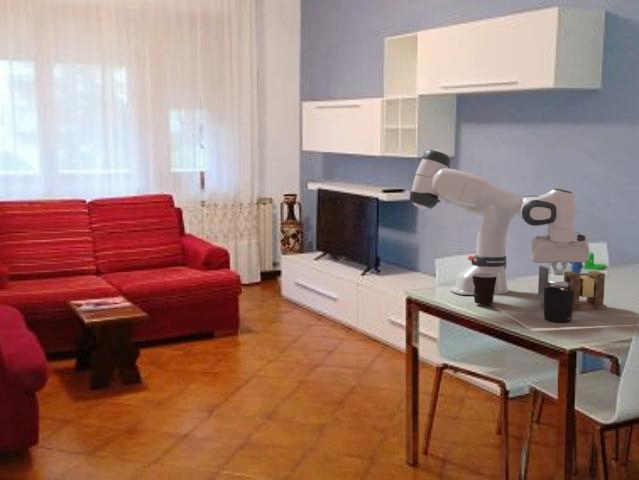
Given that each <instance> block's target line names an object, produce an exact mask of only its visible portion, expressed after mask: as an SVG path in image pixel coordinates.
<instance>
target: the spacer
mask: <svg viewBox="0 0 639 480" xmlns="http://www.w3.org/2000/svg"><path fill="white" fill-rule="evenodd" d="M580 282H581V288H580V296H579V297H580V298H587V297H593V293H594V279H593V278H591V277H588V275H581V278H580Z"/></svg>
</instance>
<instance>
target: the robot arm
mask: <svg viewBox="0 0 639 480" xmlns="http://www.w3.org/2000/svg"><path fill="white" fill-rule="evenodd" d="M450 166H451V159H450V157H449V155H448V154H446V153H445V152H444V151H442V150H439V149H429V150H426V151H424V153H423V156H422V157H421V161H420V163H419V165H418V167H417V169H416V172H415V175H414V176H415V177H414V180H413V182H412V187H411V191H410V192H409V201H410V202H411V203H412V204H413V205H414V206H415V207H417V208H419V209H422V210H431V209H432V208H435V206H437V204H438V203H443V204H445V205H448V206H451V207H453V208H456V209H458V210H460V211H462V212H465V213H467V214H470V215H472V216H474V217H477V218H479V219H481V220H482V219H483V221H482V225H481V228H480V231H479V232H478V233H477V236H476V254H475V255H474V256H473V255H470V254H469V255H468V256H467V259H468V260H469V261H470V262H471V264H469V266H468V267H466V268H465V269H463V270H462V271H460V272H459V273H458V275H457V276H456V280H455V285H450V287H449V290H450V291H451V292H453V293H455V294H458V295H462V296H465V295H466V296H474V289H473V277H472V274H475V273H489V274H495V275H497V278H496V284H495V291H494V295H500V294H506V293H508V292H509V289H508V285H507V279H506V278H507V277H506V269H507V256H506V247H507V246H506V245H507V236H508V235H507V234H508V231H509V226H510V224H511V221H512V220H513V218H514V217H515V216H516V215H518V216H519V217H520V218H521V219H523V221H524V222H525V223H526V224H527V225H530V226H533V227H539V226H544V225H547V234H546V235H543V236H541V235H537V236H535V237H533V239H531V251H530V260H531V262H532V263H535V264H547V263H548V264H549V263H550V266H551V268H552V269H553V275H554V276H564V272H565V270H566V269H567V267H568V264H569V262H583V263H585V262H587V261H588V259H589V252H590V247H589V246H590V245H589V244H588V240H589V237H588V235H586V234H583V233H580V232H578V231H575V228H576V227H575V218H576V197H575V195H574V193H573V192H571V191H569V190H567V189H562V188H561V189H560V188H551V190H549V191H548V192H546V193H544V194H542V195H524V196H523V195H520V194H519V195H518V194H515V193H513V192H512V193H511V192H509V191H506V190H502V189H500V188H498V187H496V186H494V185H493V184H491V183H490V182H488V181H487V180H485V178H484V179H483V178H482V177H479V176H477V175H476V174H473V173H469V172H467V171H462V170H459V169H455V168H450ZM558 263H559V264H560V265H561V267H560V268H559V269H558V268H557V266H558Z"/></svg>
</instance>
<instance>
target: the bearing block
mask: <svg viewBox="0 0 639 480" xmlns="http://www.w3.org/2000/svg"><path fill="white" fill-rule="evenodd" d="M581 276H582V275H581V273H580V274H578V273H575V272H573V271H572V270H569V271H564V275H563V282H566V281H570V288H563V290H565V291H568V290H574V301H573V311H588V310H591V311H592V310H593V311H594V310H608V305H607V304H604V300H605V299H604V297H605V284H606V283H605V282H606V279H605V278H606V273H603V272H601V271H599V270H588V275H587V276H588V277H591V278H593V279H594V293H593V297H586V300H580V297H581V296H580V278H581ZM540 305H541V307H544V301H541V302H540Z"/></svg>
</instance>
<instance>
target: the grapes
mask: <svg viewBox="0 0 639 480" xmlns="http://www.w3.org/2000/svg"><path fill="white" fill-rule="evenodd" d="M583 263H584V262H568V264H569V265H570V266H569V267H570V269H571V271H573V272H575V273H578V274H581V272H582V269H583V268H584V264H583Z"/></svg>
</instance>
